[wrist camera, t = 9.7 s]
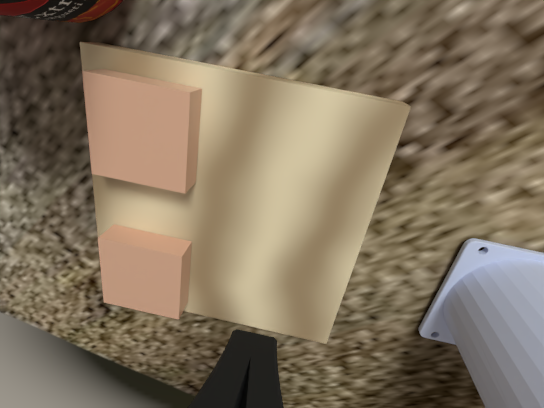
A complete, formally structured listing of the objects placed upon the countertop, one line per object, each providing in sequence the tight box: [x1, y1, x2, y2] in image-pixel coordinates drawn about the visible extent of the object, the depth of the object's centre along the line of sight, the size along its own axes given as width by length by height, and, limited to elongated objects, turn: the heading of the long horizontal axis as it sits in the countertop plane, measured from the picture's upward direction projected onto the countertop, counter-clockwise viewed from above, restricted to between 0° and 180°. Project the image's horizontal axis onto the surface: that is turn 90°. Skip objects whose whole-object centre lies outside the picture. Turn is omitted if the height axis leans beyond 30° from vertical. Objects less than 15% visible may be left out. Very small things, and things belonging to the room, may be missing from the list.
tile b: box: [98, 224, 192, 320], centre depth 20 cm, size 2×5×5 cm
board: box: [80, 42, 411, 344], centre depth 19 cm, size 16×16×2 cm
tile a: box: [82, 69, 202, 194], centre depth 16 cm, size 2×5×5 cm
